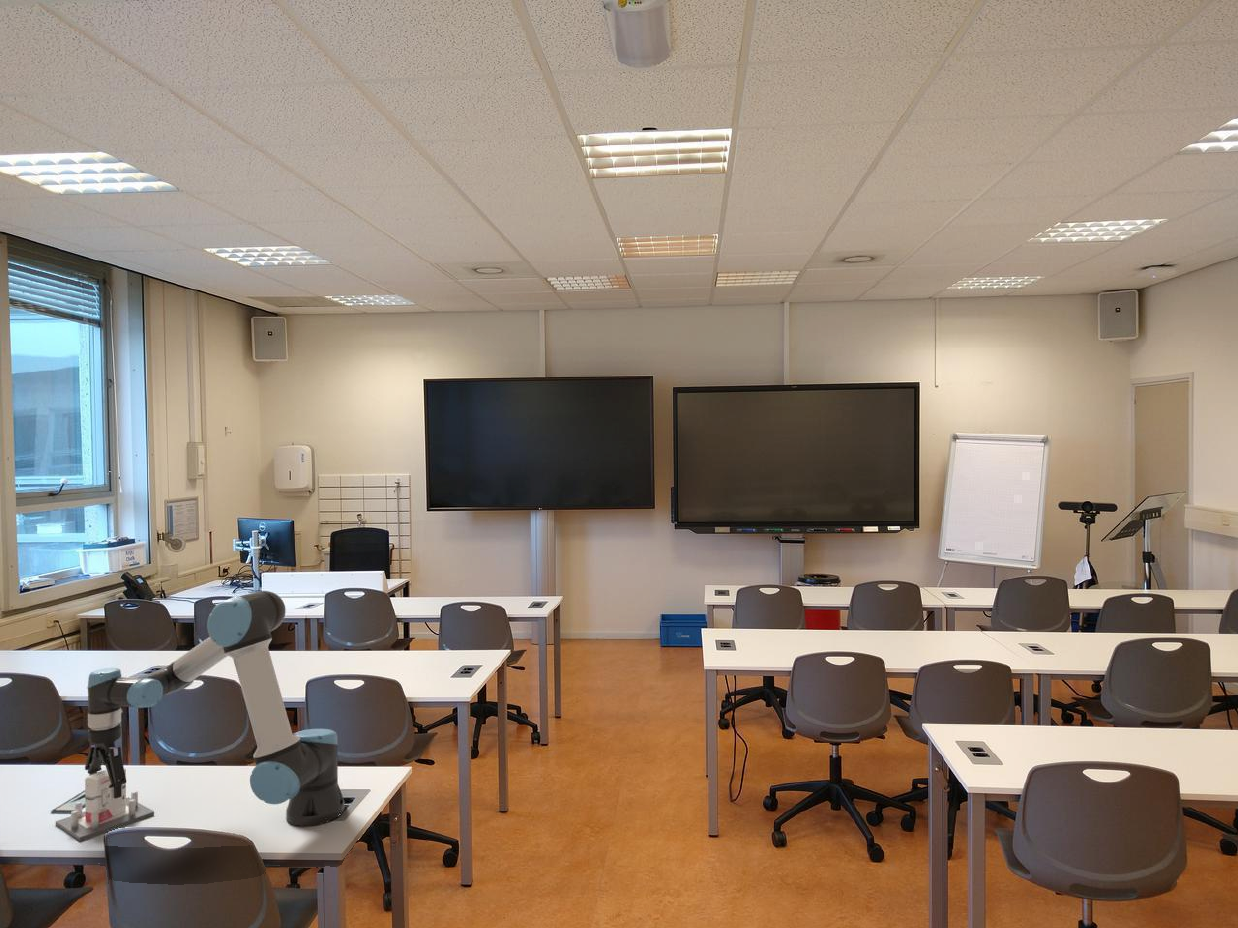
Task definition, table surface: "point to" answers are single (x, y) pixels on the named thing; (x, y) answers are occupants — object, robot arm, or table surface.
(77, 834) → the pin tray
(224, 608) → the robot arm
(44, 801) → the table surface
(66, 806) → the smartphone
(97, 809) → the ink box
